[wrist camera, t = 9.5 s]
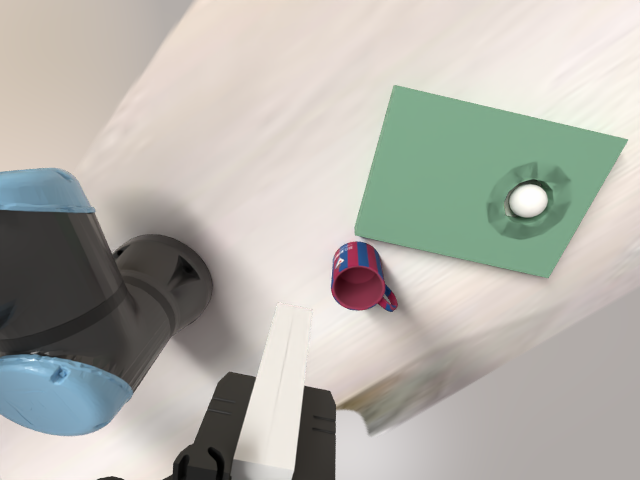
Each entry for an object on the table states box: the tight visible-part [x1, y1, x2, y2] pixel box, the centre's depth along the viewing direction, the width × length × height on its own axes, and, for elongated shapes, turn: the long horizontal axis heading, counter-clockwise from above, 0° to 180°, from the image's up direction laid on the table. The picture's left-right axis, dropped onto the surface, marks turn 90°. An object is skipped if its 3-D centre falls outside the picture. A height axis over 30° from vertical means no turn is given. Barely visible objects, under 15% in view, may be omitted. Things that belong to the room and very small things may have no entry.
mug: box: [331, 242, 398, 312], centre depth 46 cm, size 7×10×7 cm
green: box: [355, 85, 628, 278], centre depth 42 cm, size 26×18×2 cm
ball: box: [509, 184, 548, 218], centre depth 41 cm, size 4×4×4 cm
